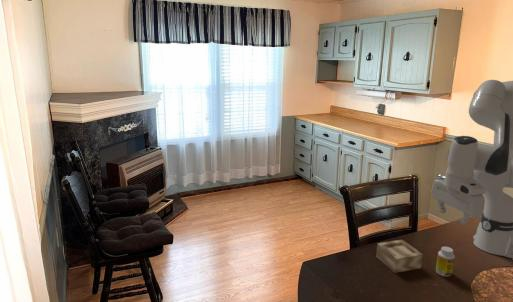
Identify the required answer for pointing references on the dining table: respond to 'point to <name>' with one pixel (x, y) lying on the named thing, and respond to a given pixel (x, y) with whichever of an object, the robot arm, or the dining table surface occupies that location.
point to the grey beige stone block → (399, 256)
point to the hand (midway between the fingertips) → (452, 217)
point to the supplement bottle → (445, 261)
